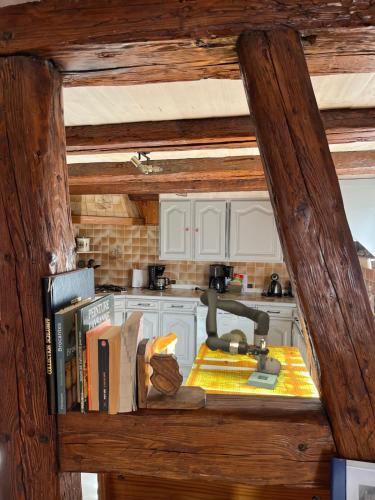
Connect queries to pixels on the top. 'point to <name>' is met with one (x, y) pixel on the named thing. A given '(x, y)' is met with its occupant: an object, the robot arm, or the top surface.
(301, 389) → the top surface
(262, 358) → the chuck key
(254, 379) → the block
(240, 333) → the spool
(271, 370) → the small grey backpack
